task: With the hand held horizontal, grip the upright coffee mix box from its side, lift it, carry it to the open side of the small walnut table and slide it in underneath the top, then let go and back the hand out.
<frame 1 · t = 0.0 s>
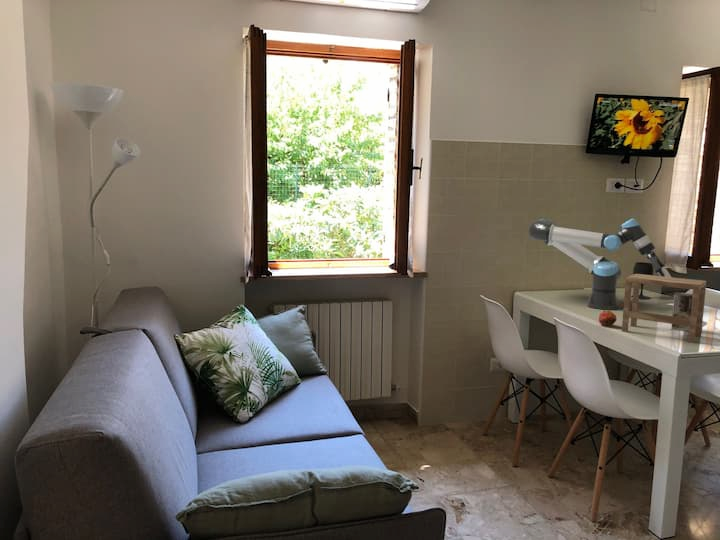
hand: (668, 280, 299), 15 cm above the table, tool tilted 35°, fingers open, 13 cm apart
coffee box: (682, 329, 258), on the table
pomegranate: (607, 326, 263), on the table
wine glass: (641, 298, 331), on the table
walnut table: (660, 333, 250), on the table
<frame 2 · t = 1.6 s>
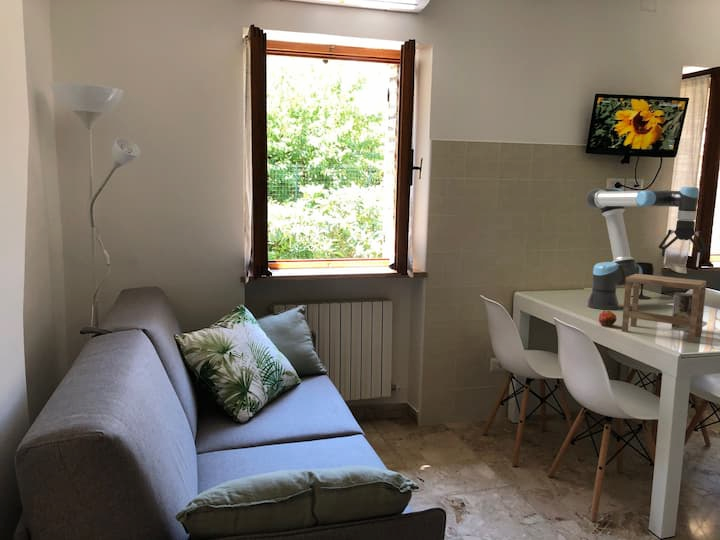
hand: (680, 265, 273), 26 cm above the table, tool pointing down, fingers open, 13 cm apart
nothing on the table moved.
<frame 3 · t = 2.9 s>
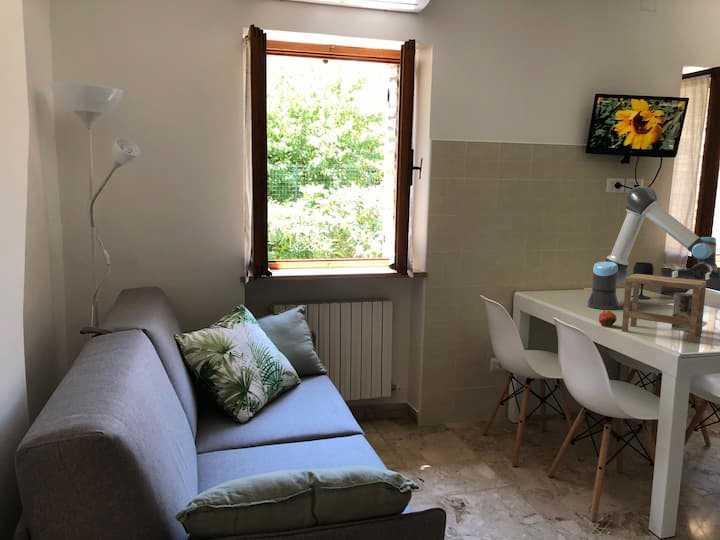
hand: (689, 275, 262), 23 cm above the table, tool horizontal, fingers open, 13 cm apart
nothing on the table moved.
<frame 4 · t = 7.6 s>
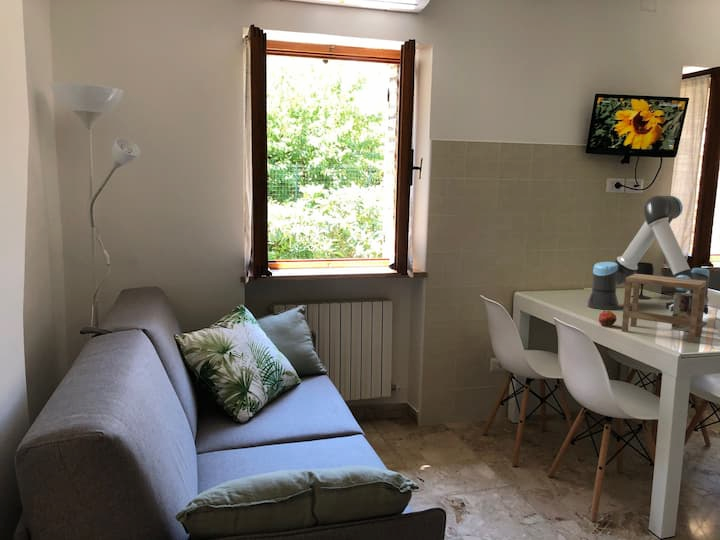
hand: (682, 311, 253), 9 cm above the table, tool horizontal, fingers closed on coffee box, 10 cm apart
coffee box: (682, 329, 258), on the table, touching gripper
everything else where it was.
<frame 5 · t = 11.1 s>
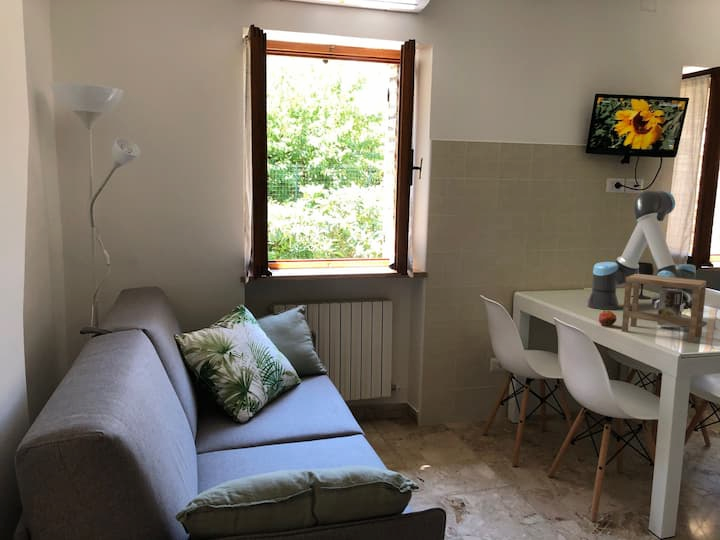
hand: (668, 306, 255), 11 cm above the table, tool horizontal, fingers closed on coffee box, 10 cm apart
coffee box: (668, 325, 260), point 1 cm above the table, touching gripper
everything else where it was.
when the fingers open (10 cm above the table, at t = 14.7 s): coffee box drops 1 cm, on the table.
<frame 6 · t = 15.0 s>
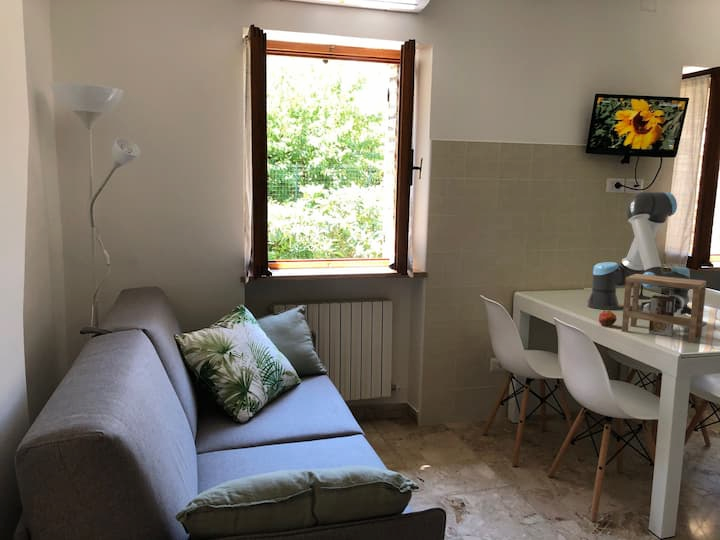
hand: (660, 311, 246), 10 cm above the table, tool horizontal, fingers open, 12 cm apart
coffee box: (660, 333, 250), on the table
everything else where it was.
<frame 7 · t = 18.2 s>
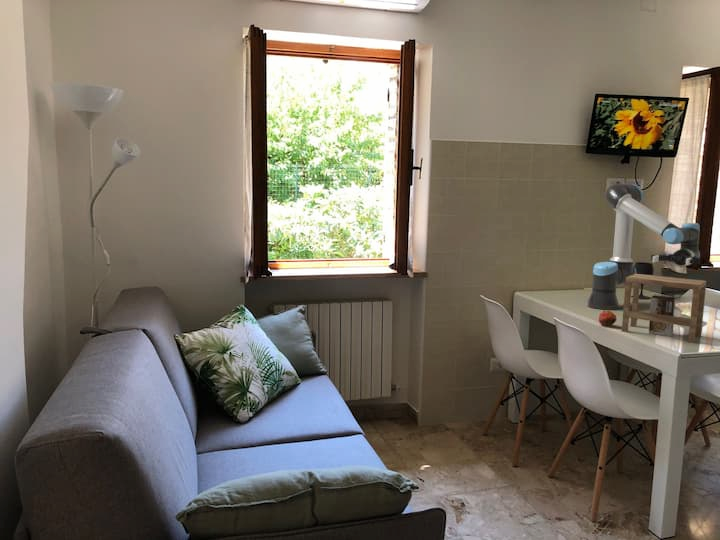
hand: (669, 260, 256), 31 cm above the table, tool horizontal, fingers open, 13 cm apart
nothing on the table moved.
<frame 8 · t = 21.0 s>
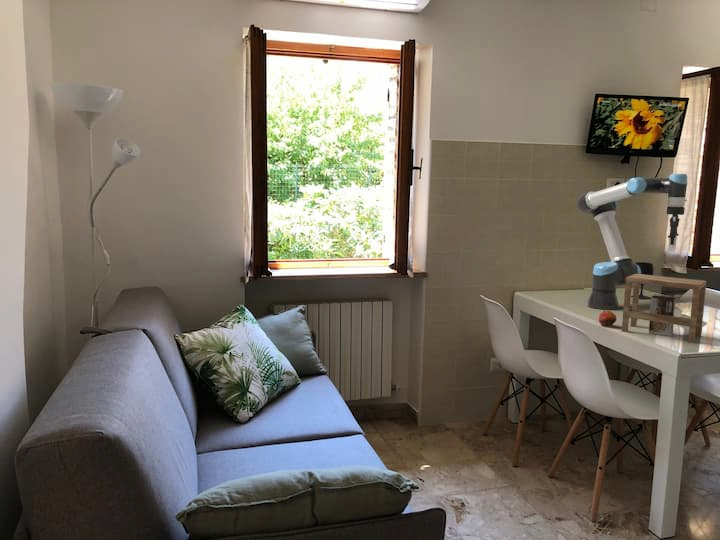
hand: (671, 250, 279), 33 cm above the table, tool pointing down, fingers open, 13 cm apart
nothing on the table moved.
at the end: coffee box inside the target area (0.2 cm from its centre), on the table; coffee box tilted 0°; the gripper is holding nothing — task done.
